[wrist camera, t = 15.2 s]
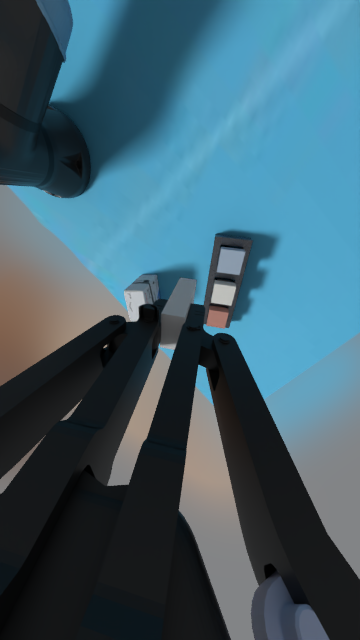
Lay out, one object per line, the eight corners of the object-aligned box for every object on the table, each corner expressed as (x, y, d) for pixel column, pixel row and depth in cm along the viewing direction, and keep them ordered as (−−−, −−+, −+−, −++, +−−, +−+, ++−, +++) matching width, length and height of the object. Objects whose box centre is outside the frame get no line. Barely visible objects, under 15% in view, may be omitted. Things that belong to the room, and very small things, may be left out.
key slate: (237, 267, 44) (239, 275, 40) (217, 265, 45) (216, 272, 40) (242, 246, 42) (245, 251, 37) (221, 244, 42) (221, 248, 38)
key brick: (224, 317, 54) (224, 328, 49) (207, 315, 54) (206, 325, 50) (227, 303, 51) (228, 312, 46) (210, 300, 52) (209, 309, 47)
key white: (230, 296, 48) (231, 305, 44) (211, 293, 49) (211, 302, 45) (234, 278, 46) (236, 286, 41) (215, 275, 46) (214, 283, 42)
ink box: (161, 301, 56) (148, 323, 46) (145, 301, 57) (130, 322, 47) (157, 274, 51) (142, 291, 42) (140, 274, 52) (122, 290, 43)
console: (228, 321, 55) (229, 328, 52) (201, 317, 56) (200, 323, 53) (250, 238, 43) (252, 240, 40) (215, 234, 44) (215, 236, 41)
